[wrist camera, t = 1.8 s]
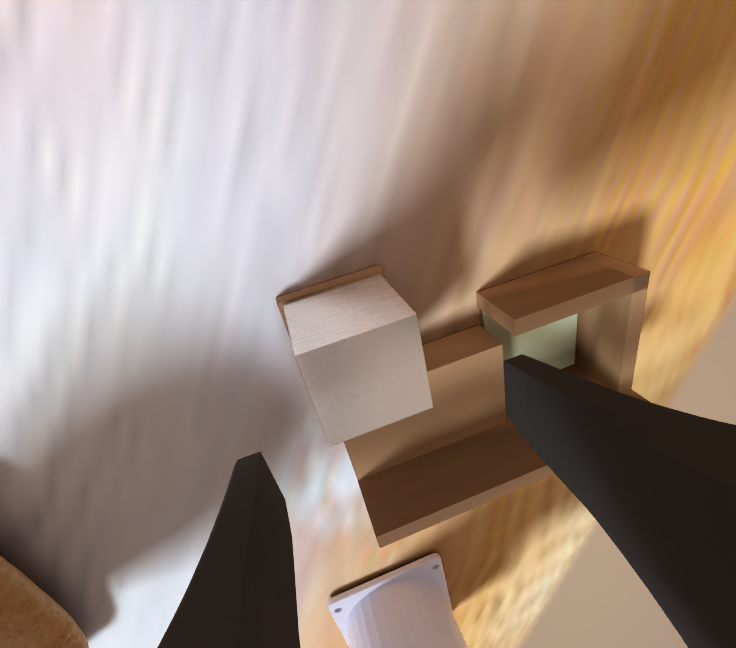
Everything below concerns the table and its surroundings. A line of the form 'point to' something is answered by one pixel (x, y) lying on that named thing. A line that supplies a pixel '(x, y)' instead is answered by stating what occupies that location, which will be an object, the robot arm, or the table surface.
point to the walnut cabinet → (493, 390)
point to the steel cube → (359, 357)
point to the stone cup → (33, 615)
